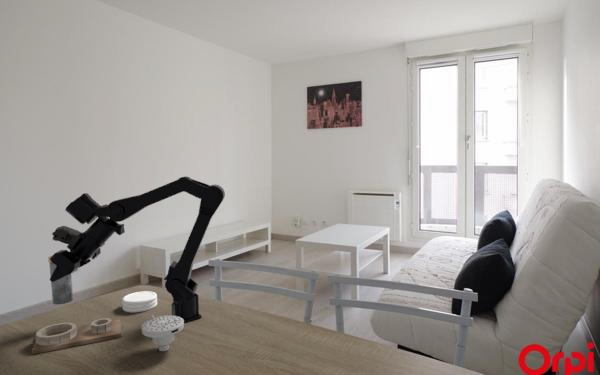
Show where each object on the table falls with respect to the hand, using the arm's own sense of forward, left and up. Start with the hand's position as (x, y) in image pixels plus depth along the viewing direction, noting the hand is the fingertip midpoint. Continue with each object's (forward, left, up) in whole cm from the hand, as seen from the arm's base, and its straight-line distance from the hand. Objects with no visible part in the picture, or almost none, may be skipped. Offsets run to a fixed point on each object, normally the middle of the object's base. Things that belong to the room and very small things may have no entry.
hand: (55, 277), depth 107 cm
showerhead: (-17, +32, -13) cm, 39 cm away
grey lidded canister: (-1, +1, -7) cm, 7 cm away
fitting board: (-3, +12, -13) cm, 18 cm away
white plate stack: (-22, 0, -14) cm, 26 cm away
